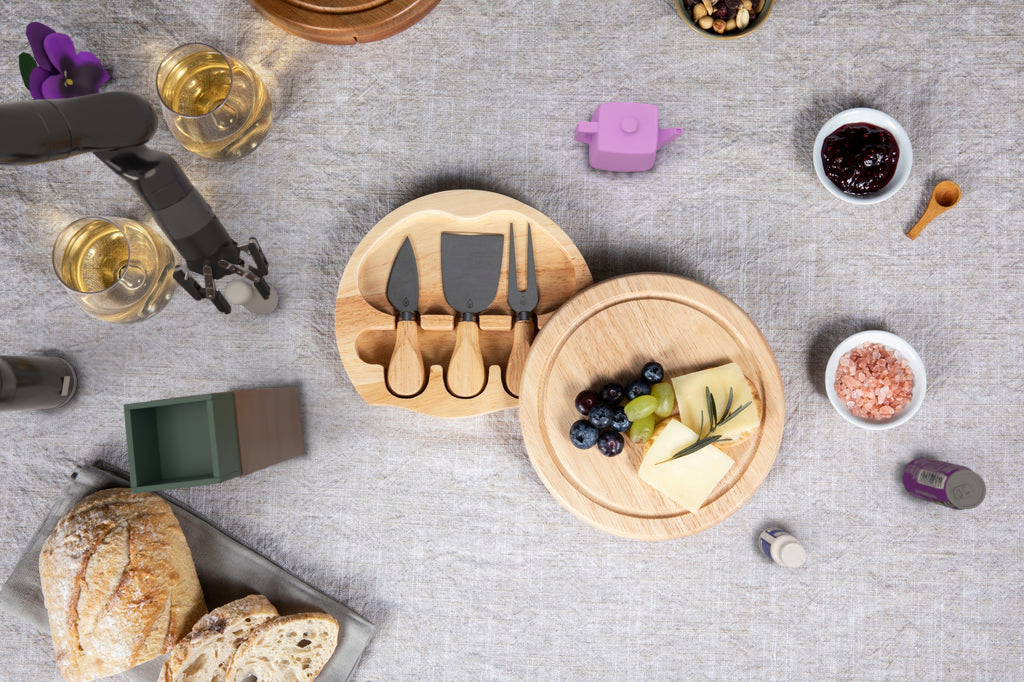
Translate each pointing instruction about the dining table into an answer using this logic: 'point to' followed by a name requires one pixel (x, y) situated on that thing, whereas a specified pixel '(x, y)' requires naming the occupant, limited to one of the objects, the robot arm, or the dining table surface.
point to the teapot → (624, 136)
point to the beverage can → (944, 483)
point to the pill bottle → (782, 547)
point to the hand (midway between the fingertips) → (248, 303)
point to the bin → (182, 442)
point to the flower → (58, 66)
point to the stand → (267, 426)
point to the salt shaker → (250, 297)
